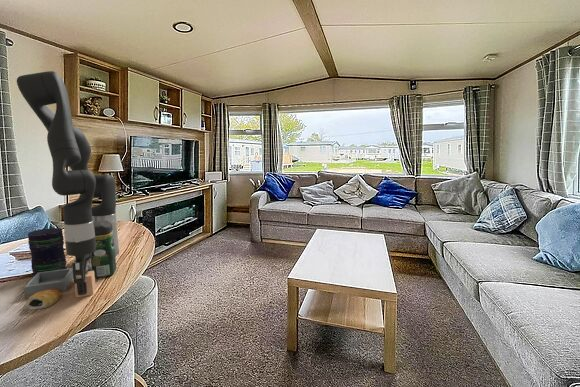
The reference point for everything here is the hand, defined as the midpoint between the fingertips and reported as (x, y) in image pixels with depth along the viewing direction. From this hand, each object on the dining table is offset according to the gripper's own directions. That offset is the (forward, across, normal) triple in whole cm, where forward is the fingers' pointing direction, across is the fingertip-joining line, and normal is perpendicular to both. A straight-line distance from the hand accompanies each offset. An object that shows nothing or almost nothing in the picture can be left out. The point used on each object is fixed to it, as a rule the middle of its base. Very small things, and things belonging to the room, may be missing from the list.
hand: (85, 288), depth 97 cm
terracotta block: (+2, 0, 0) cm, 2 cm away
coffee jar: (+2, -15, +3) cm, 15 cm away
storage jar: (+2, -24, -15) cm, 28 cm away
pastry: (+2, +3, -10) cm, 10 cm away
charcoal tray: (+1, -10, -11) cm, 15 cm away
